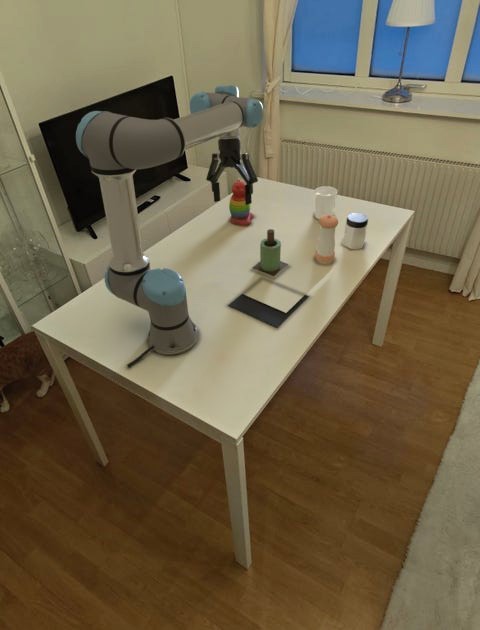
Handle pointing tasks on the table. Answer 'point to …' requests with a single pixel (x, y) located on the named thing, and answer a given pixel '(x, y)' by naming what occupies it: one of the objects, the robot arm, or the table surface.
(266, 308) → the placemat
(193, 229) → the table surface
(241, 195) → the stacking bear
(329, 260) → the pepper shaker
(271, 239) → the peg stand
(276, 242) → the hollow cylinder
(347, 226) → the jar
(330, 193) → the candle holder
